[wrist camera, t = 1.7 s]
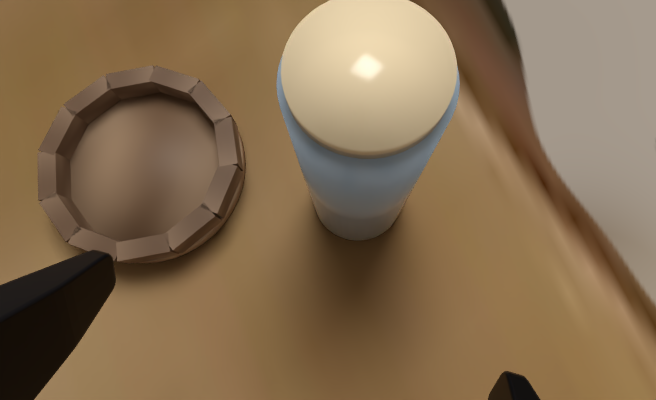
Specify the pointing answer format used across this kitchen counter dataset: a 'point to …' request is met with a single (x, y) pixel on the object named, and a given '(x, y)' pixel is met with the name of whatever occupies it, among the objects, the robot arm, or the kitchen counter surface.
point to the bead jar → (366, 107)
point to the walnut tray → (141, 166)
